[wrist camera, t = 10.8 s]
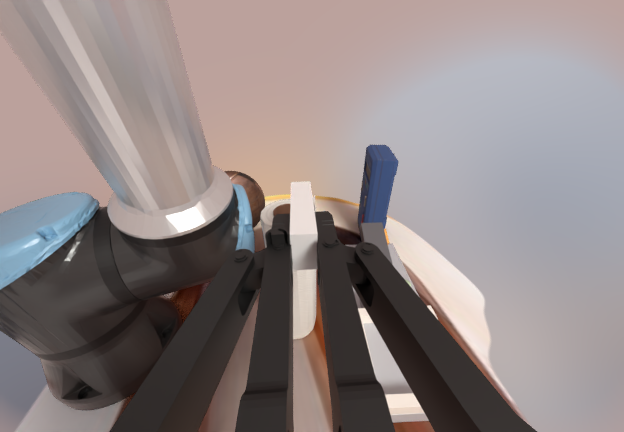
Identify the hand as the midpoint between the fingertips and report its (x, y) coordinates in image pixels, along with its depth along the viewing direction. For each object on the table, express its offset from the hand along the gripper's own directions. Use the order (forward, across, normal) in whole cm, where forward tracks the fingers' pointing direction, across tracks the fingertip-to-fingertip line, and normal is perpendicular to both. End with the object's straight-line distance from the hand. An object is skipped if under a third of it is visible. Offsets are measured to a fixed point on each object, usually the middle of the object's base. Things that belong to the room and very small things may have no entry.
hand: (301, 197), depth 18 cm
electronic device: (+28, +16, -26) cm, 42 cm away
